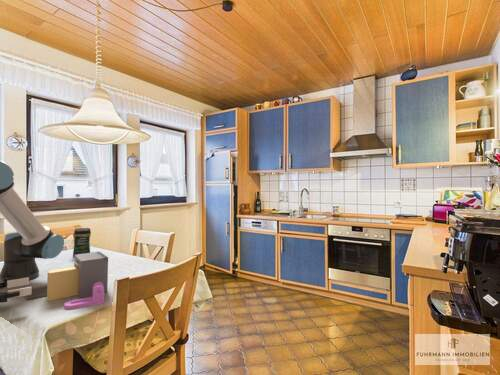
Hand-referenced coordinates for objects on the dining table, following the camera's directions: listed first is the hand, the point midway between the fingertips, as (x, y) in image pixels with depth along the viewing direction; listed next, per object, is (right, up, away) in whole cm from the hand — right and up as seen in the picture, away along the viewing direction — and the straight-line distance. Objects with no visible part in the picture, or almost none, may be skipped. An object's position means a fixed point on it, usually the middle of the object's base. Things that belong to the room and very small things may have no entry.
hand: (30, 285), depth 103 cm
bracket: (+21, -8, 0) cm, 22 cm away
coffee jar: (-25, -8, +71) cm, 76 cm away
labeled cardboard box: (+10, -7, +9) cm, 15 cm away
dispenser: (+15, -7, +14) cm, 22 cm away
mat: (-1, -7, +13) cm, 15 cm away
